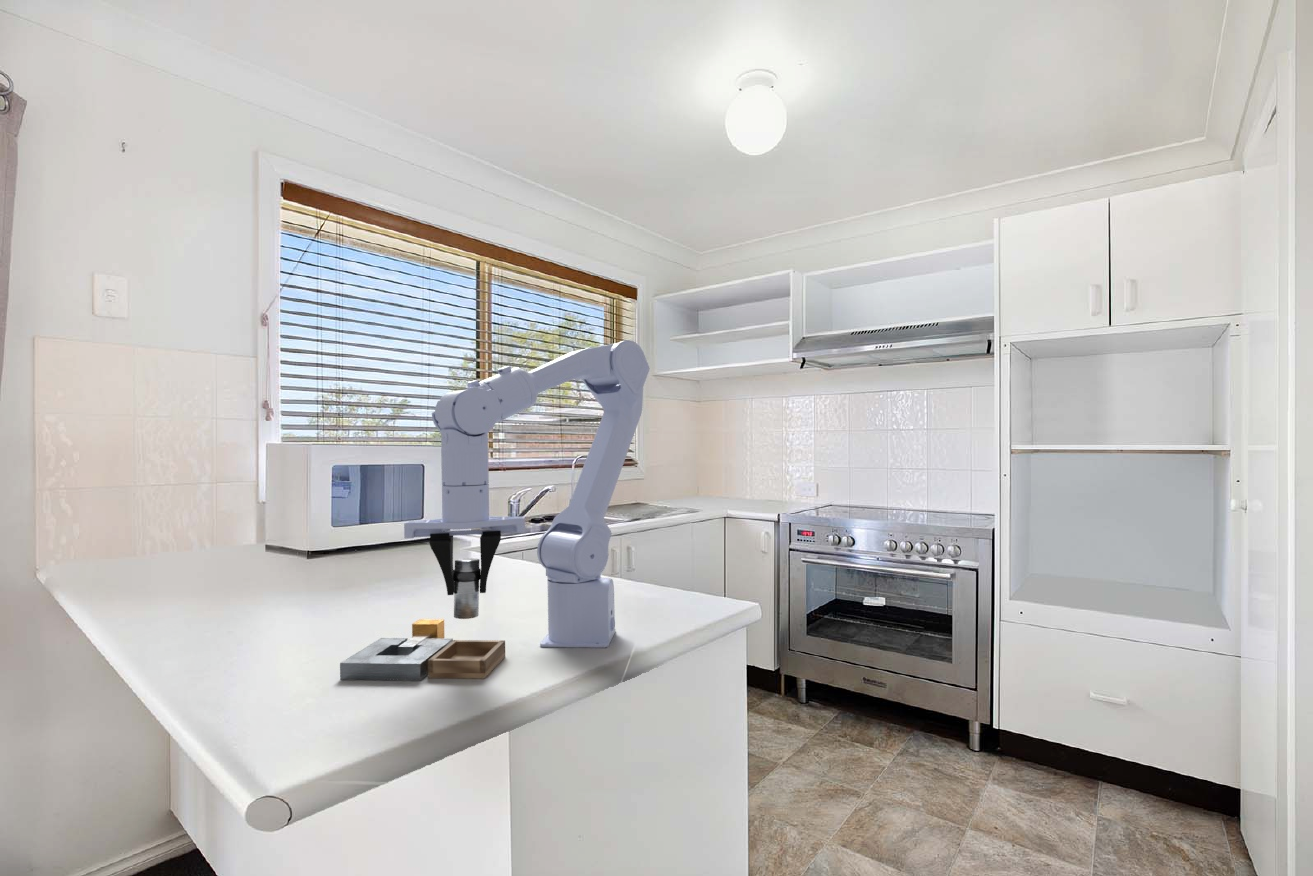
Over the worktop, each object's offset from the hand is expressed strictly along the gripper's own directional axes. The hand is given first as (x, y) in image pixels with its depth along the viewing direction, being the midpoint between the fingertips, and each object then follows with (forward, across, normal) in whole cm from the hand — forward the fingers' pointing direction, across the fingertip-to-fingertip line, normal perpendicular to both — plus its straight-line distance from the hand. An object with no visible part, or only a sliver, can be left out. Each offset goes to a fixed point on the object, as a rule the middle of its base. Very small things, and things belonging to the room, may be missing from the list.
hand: (467, 592), depth 83 cm
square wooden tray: (+9, 0, 0) cm, 9 cm away
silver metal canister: (+3, 0, 0) cm, 3 cm away
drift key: (+9, +7, -8) cm, 14 cm away
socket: (+9, +9, -3) cm, 13 cm away
